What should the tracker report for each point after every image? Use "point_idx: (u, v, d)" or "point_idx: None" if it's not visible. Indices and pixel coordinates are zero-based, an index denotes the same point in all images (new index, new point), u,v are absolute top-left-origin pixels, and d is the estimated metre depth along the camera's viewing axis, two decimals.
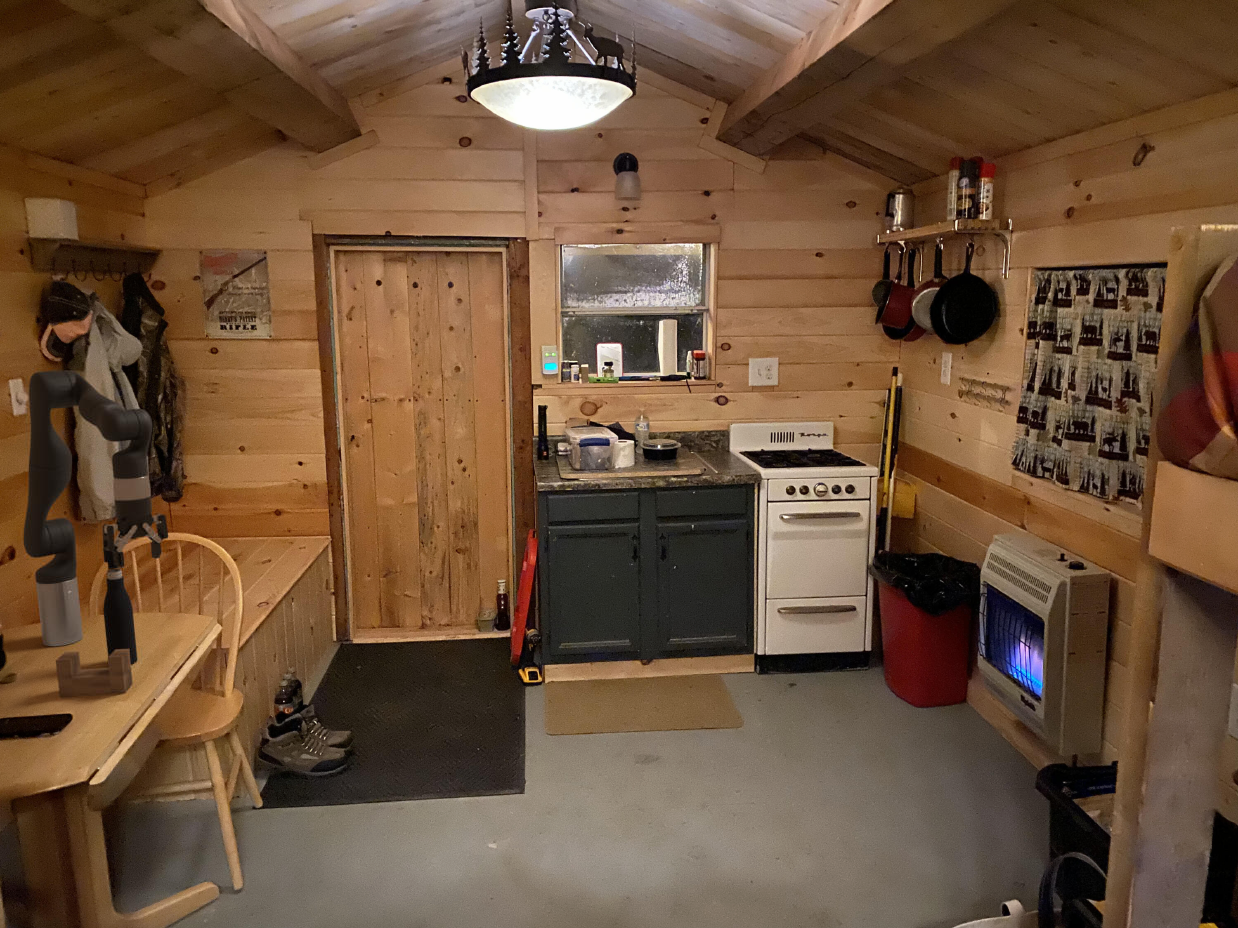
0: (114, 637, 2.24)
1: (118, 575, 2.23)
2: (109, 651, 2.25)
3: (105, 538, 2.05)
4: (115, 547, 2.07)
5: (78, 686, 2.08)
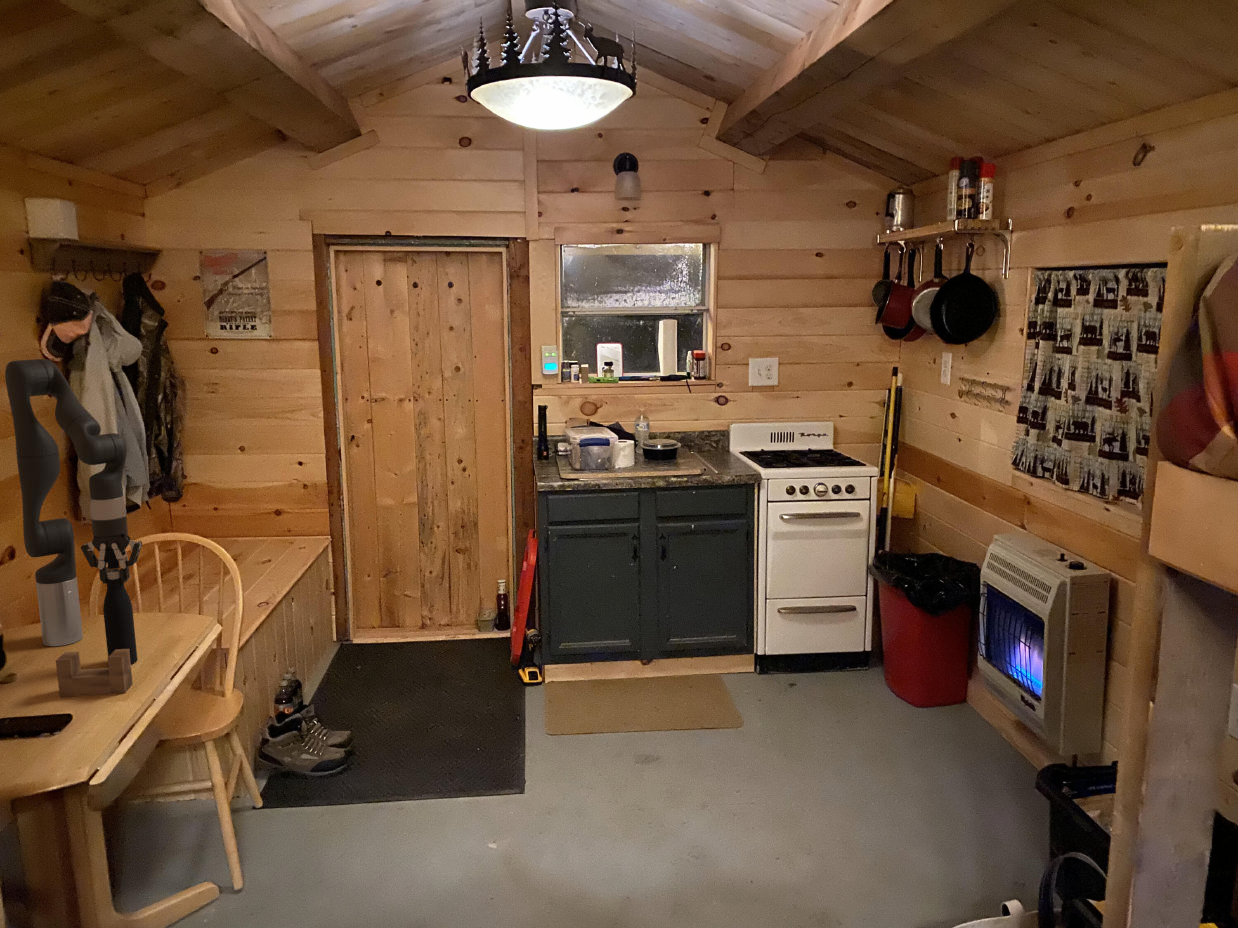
0: (114, 637, 2.24)
1: (118, 575, 2.23)
2: (109, 651, 2.25)
3: (137, 554, 2.24)
4: None
5: (78, 686, 2.08)
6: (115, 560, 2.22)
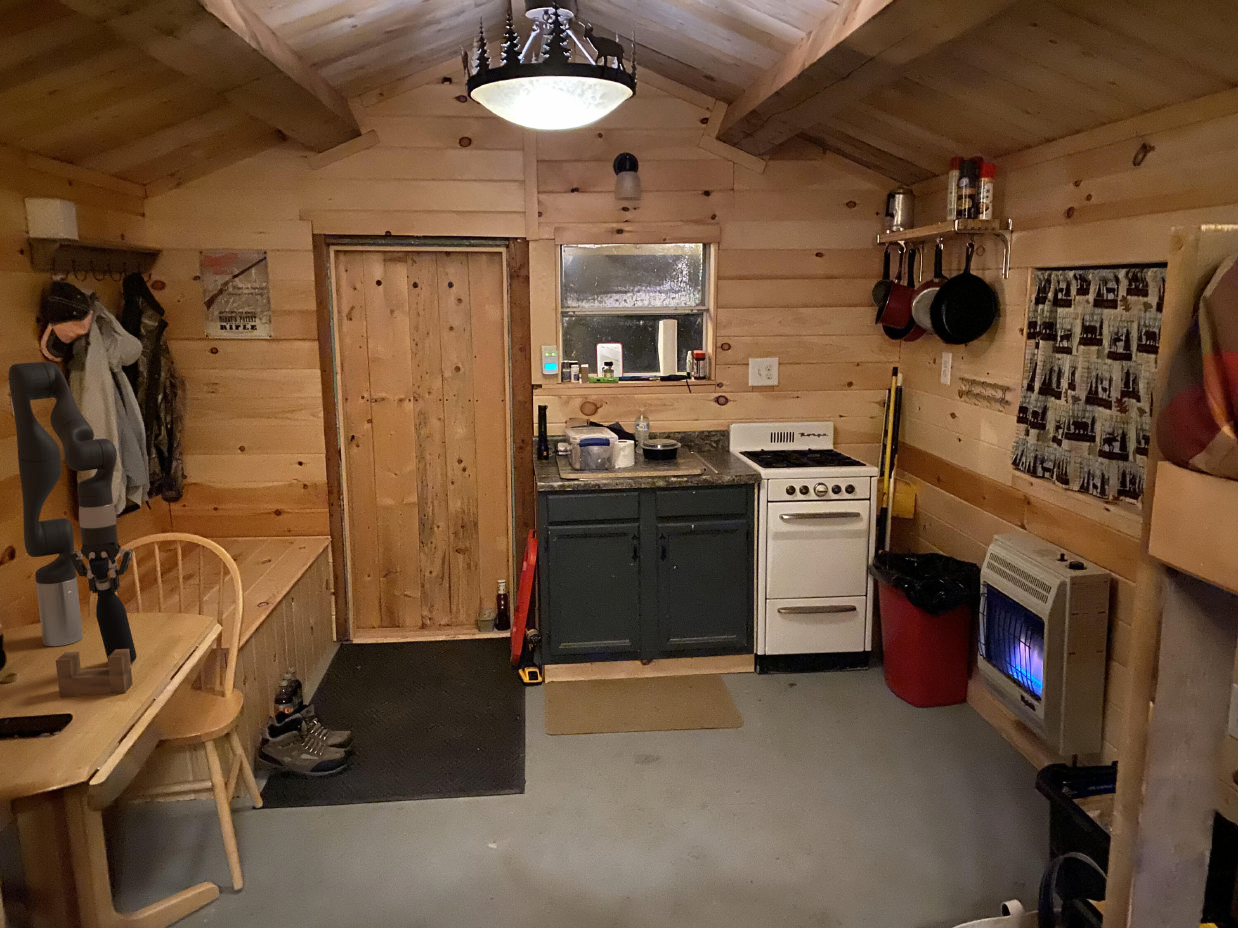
0: (111, 642, 2.22)
1: (107, 585, 2.17)
2: (107, 653, 2.24)
3: (127, 563, 2.18)
4: None
5: (78, 686, 2.08)
6: (103, 573, 2.14)
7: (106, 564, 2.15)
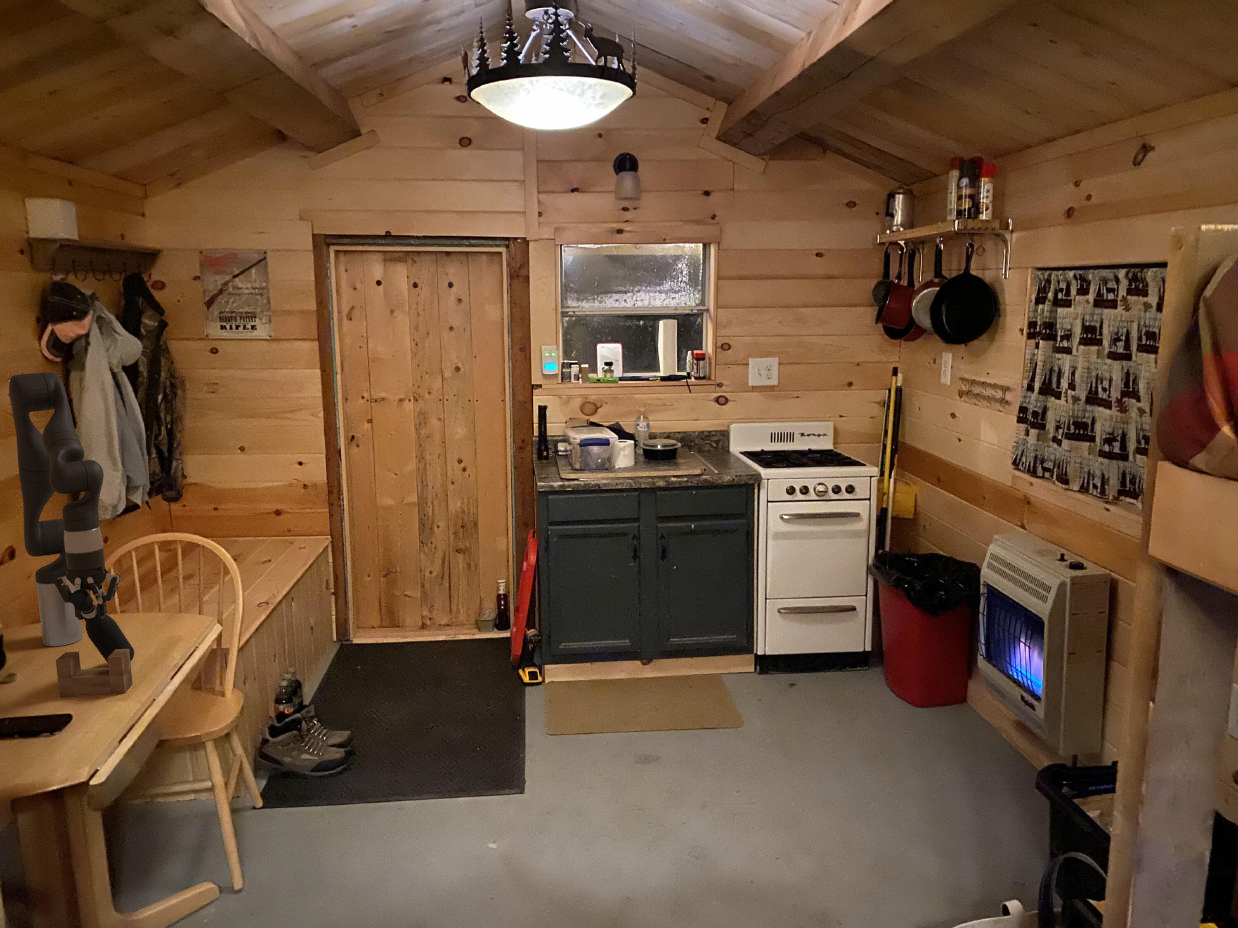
0: (107, 653, 2.19)
1: (94, 614, 2.09)
2: (105, 658, 2.22)
3: (115, 588, 2.09)
4: None
5: (78, 686, 2.08)
6: (87, 607, 2.05)
7: (89, 599, 2.05)
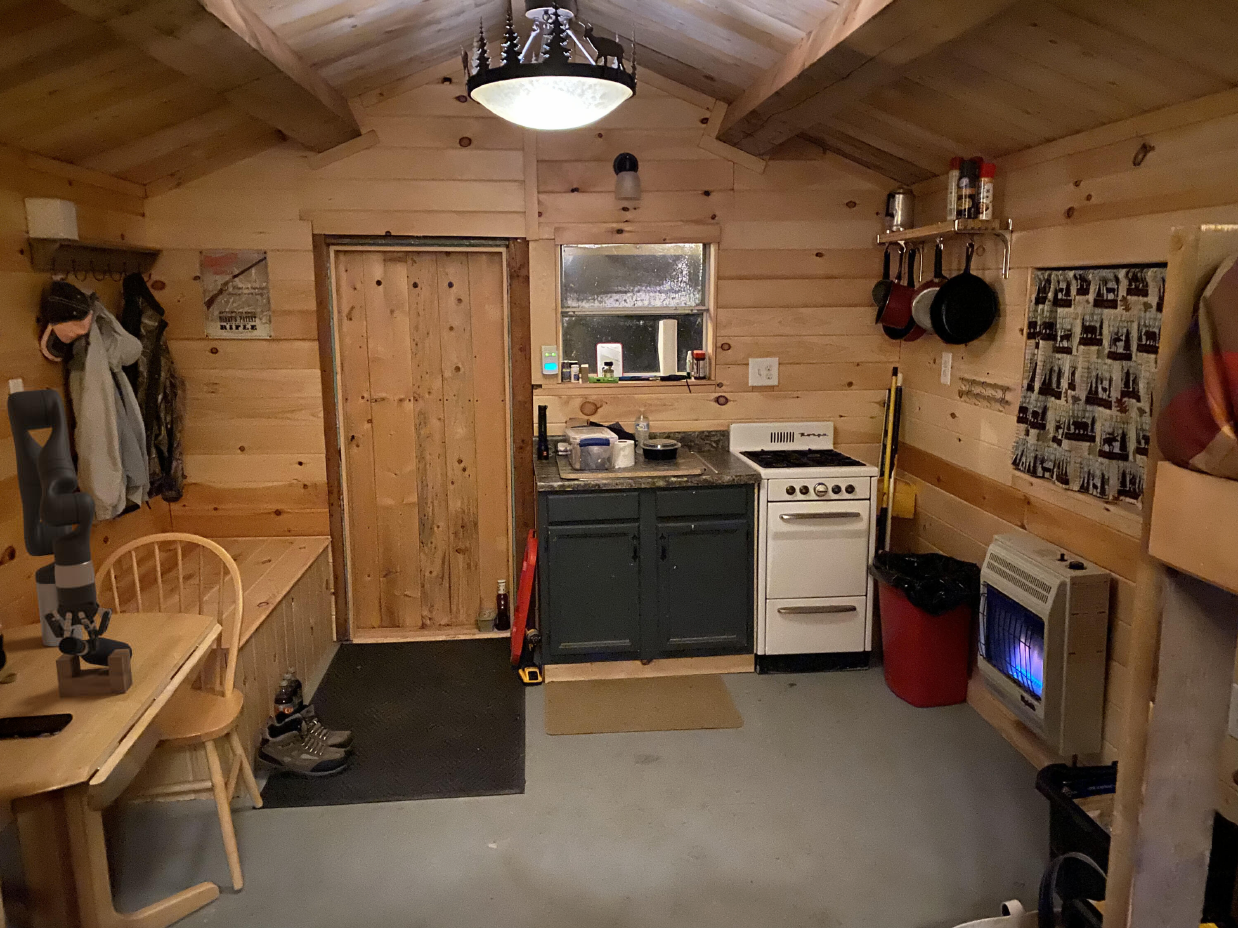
0: None
1: (86, 651, 2.04)
2: None
3: (107, 623, 2.04)
4: None
5: (78, 686, 2.08)
6: (78, 652, 2.00)
7: (79, 646, 1.99)
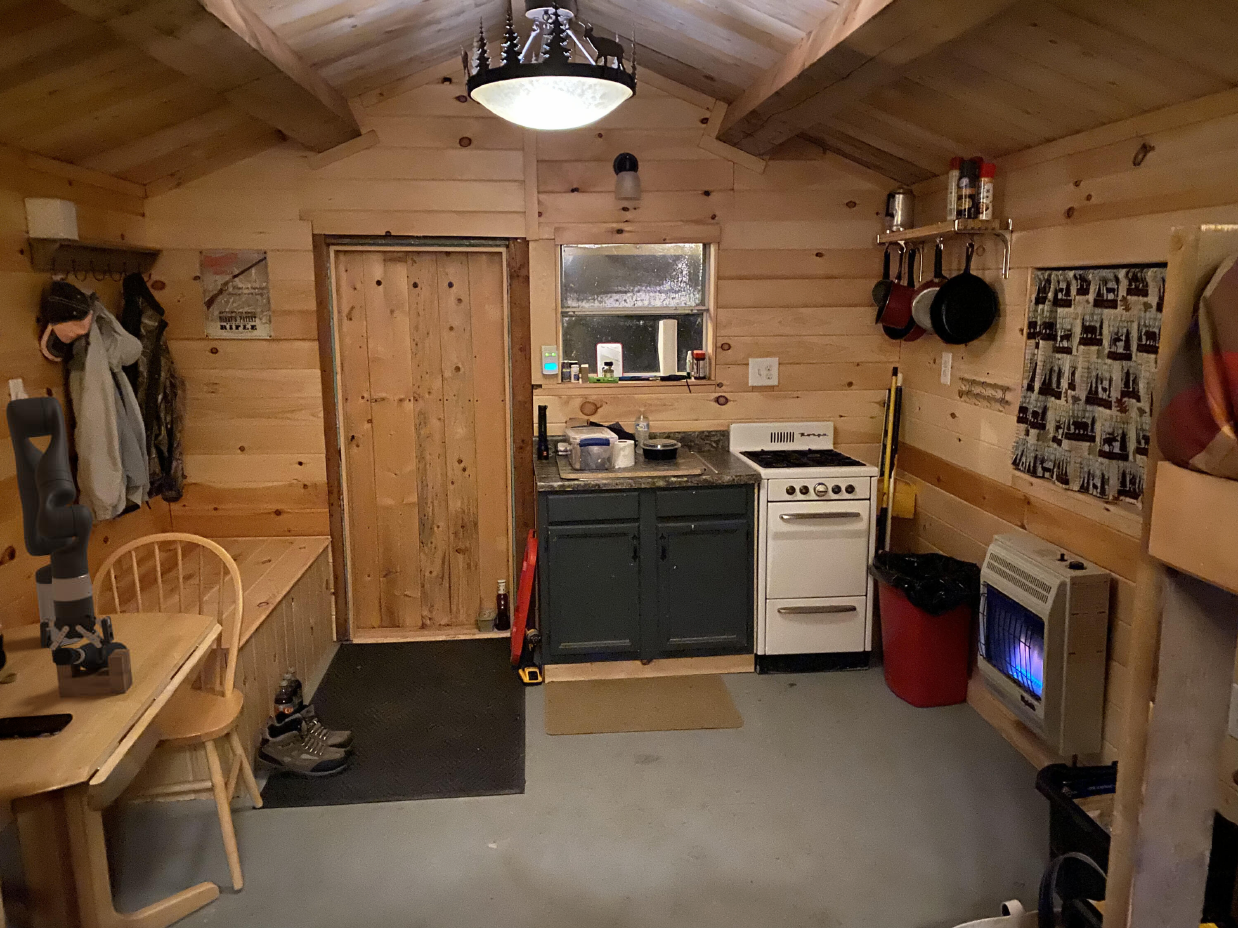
0: None
1: (82, 658, 2.03)
2: None
3: (110, 630, 2.03)
4: None
5: (78, 686, 2.08)
6: (75, 661, 1.99)
7: (74, 655, 1.98)
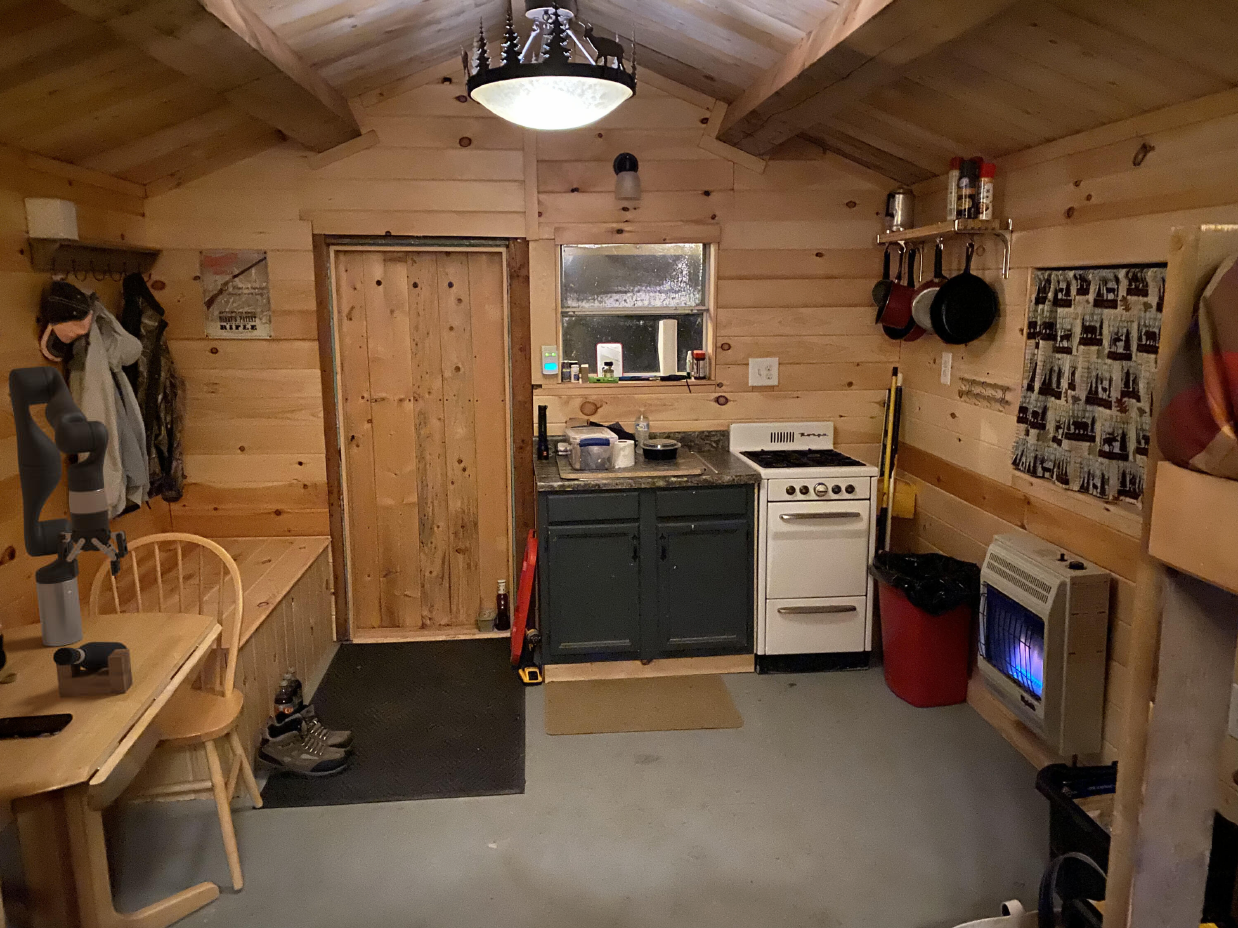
0: None
1: (82, 658, 2.03)
2: None
3: (124, 544, 2.10)
4: None
5: (78, 686, 2.08)
6: (75, 661, 1.99)
7: (74, 655, 1.98)
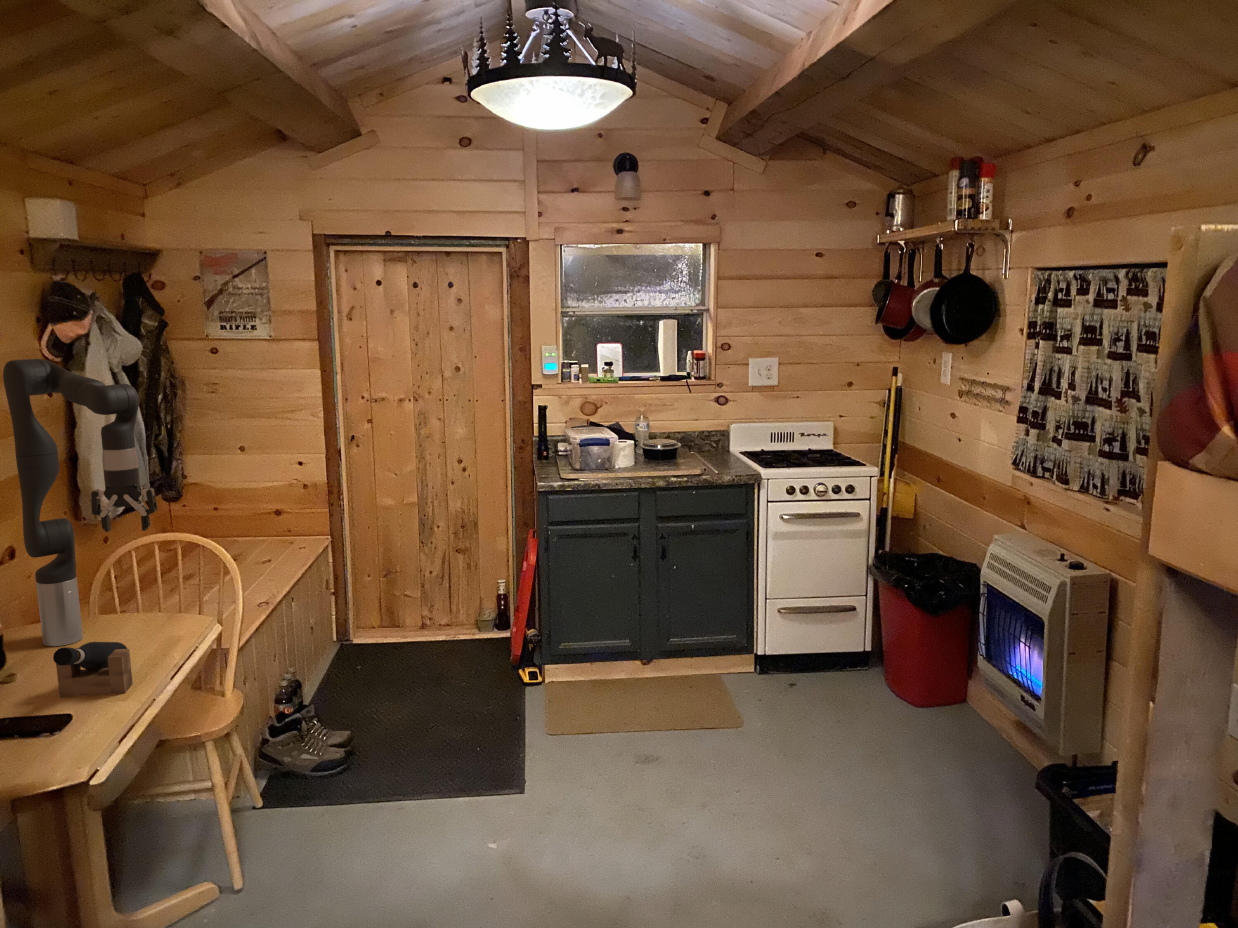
0: None
1: (82, 658, 2.03)
2: None
3: (154, 500, 2.23)
4: None
5: (78, 686, 2.08)
6: (75, 661, 1.99)
7: (74, 655, 1.98)
